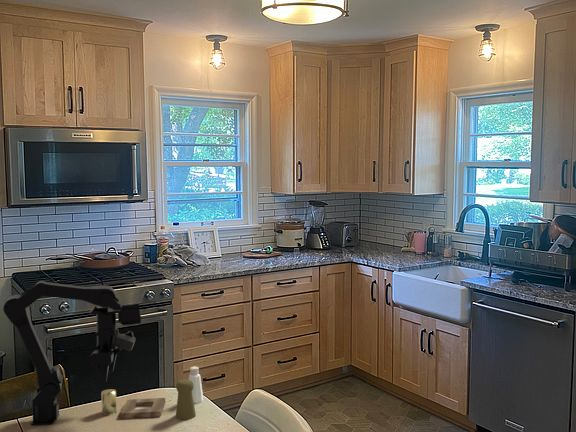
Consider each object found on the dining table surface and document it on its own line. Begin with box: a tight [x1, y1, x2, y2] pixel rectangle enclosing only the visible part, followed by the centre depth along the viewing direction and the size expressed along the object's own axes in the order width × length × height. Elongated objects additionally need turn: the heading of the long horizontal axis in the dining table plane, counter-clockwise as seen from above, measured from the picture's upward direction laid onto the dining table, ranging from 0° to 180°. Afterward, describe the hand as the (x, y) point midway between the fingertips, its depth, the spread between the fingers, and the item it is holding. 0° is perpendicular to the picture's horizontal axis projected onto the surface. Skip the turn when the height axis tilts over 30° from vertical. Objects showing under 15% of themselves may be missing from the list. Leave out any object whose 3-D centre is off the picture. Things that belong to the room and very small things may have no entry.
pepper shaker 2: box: [188, 365, 204, 405], centre depth 187 cm, size 5×5×11 cm
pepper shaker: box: [175, 378, 197, 421], centre depth 175 cm, size 6×6×11 cm
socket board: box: [120, 397, 166, 419], centre depth 180 cm, size 12×11×2 cm
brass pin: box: [100, 388, 118, 416], centre depth 179 cm, size 4×4×6 cm
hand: (107, 376), depth 178 cm, fingers open, 9 cm apart
